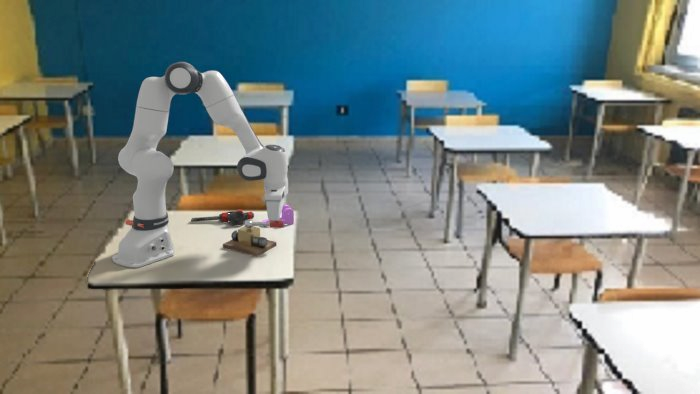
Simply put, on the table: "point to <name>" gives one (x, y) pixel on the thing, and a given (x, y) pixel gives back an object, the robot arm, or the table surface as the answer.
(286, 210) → the bracket
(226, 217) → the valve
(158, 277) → the table surface
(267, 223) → the valve lever
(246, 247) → the walnut board
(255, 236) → the ball valve
